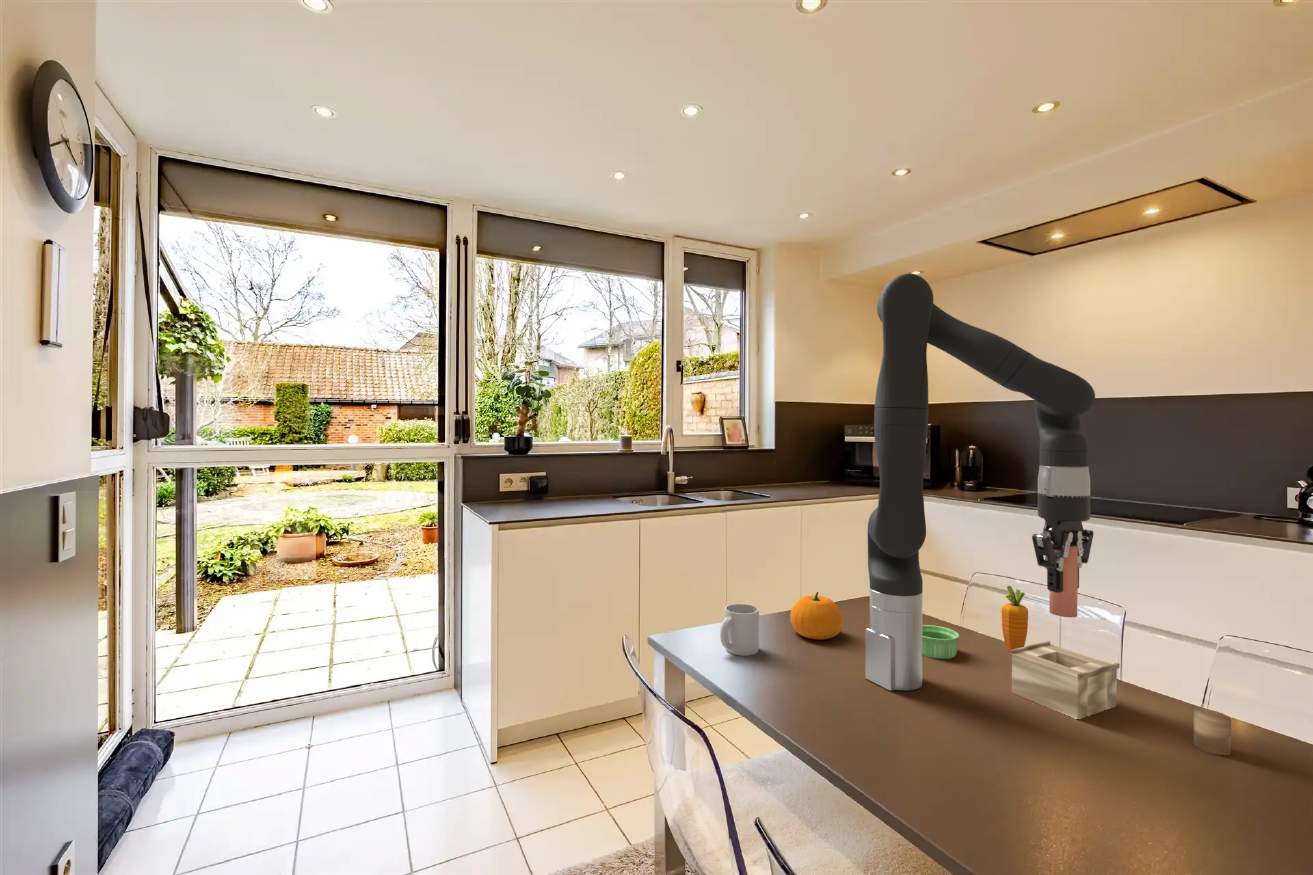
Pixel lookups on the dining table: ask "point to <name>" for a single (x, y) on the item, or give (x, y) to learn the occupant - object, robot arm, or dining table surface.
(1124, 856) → the dining table surface
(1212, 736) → the short dowel
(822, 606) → the fruit
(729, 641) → the cup
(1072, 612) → the long dowel
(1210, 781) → the dining table surface
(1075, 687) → the hole block
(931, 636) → the ramekin
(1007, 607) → the carrot
